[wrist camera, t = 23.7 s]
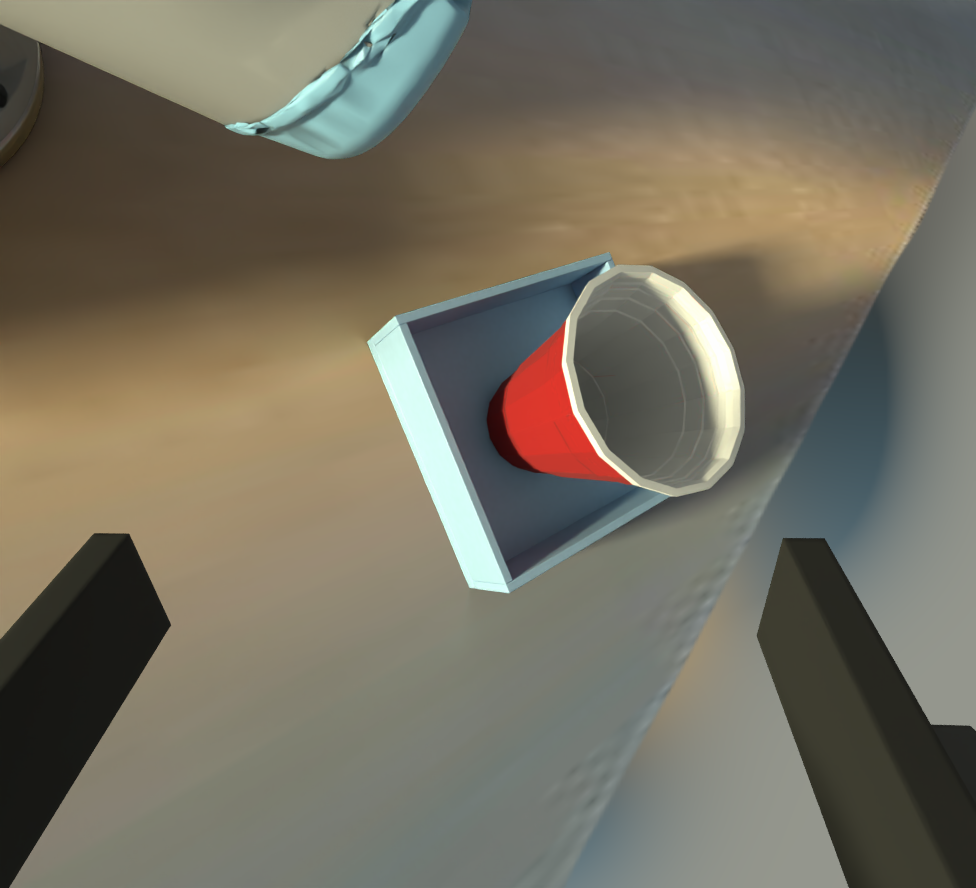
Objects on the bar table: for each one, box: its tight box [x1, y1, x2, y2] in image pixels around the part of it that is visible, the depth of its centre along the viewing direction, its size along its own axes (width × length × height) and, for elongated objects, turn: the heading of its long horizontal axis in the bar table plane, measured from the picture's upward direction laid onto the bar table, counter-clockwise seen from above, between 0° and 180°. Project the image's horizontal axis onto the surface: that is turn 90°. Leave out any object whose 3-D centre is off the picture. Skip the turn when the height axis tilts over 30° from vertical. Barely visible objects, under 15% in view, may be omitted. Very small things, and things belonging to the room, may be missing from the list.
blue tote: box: [367, 252, 670, 593], centre depth 37 cm, size 15×15×5 cm
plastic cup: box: [487, 265, 745, 497], centre depth 33 cm, size 11×11×12 cm
